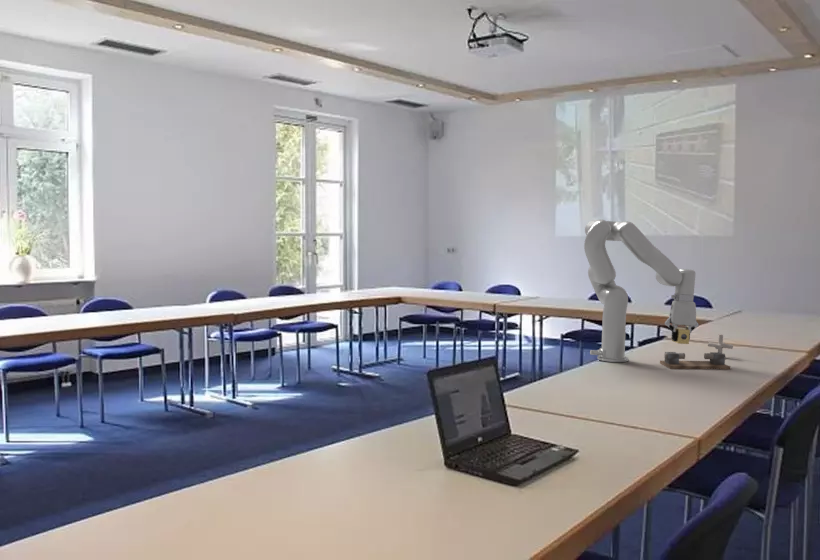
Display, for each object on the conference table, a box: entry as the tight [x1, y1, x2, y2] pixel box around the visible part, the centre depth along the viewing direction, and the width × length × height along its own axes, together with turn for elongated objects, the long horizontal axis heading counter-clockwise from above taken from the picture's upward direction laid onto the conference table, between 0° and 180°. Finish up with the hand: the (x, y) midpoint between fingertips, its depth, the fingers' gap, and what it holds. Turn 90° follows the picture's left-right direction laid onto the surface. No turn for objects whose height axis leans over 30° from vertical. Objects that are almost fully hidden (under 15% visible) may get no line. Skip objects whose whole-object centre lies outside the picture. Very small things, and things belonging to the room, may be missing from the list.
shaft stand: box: [659, 351, 731, 370], centre depth 301 cm, size 24×12×5 cm, turn 91°
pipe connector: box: [707, 333, 734, 353], centre depth 324 cm, size 10×10×10 cm
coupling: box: [672, 326, 691, 345], centre depth 314 cm, size 7×4×6 cm, turn 1°
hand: (680, 340), depth 314 cm, fingers closed on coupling, 4 cm apart
